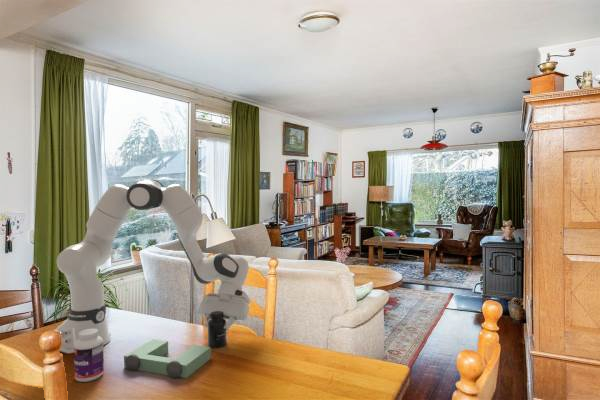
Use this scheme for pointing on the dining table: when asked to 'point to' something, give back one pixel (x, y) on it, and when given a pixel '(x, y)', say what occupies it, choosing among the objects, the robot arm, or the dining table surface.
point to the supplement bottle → (216, 330)
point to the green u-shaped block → (166, 359)
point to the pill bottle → (88, 356)
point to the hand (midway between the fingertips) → (216, 328)
